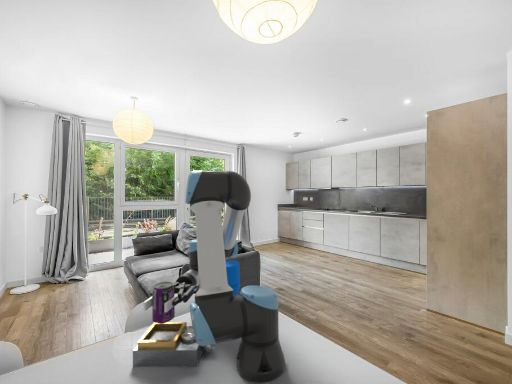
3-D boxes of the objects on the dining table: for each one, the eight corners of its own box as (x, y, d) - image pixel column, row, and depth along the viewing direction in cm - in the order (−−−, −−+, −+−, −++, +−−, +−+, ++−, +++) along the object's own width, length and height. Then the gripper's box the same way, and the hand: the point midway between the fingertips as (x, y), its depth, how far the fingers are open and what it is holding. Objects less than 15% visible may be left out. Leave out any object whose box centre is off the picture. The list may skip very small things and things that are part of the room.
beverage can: (171, 325, 79) (170, 288, 79) (149, 326, 79) (148, 289, 79) (177, 314, 86) (176, 280, 86) (156, 315, 86) (156, 281, 86)
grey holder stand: (217, 339, 89) (217, 320, 89) (209, 366, 75) (209, 343, 75) (152, 340, 89) (152, 321, 89) (132, 366, 75) (132, 344, 75)
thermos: (226, 315, 107) (226, 258, 108) (245, 322, 101) (244, 262, 101) (208, 325, 98) (208, 264, 99) (228, 334, 92) (227, 268, 93)
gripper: (210, 292, 98) (183, 321, 76) (166, 289, 102) (127, 316, 79) (210, 274, 98) (183, 297, 76) (166, 271, 102) (127, 293, 79)
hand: (155, 307), depth 77 cm, fingers closed on beverage can, 7 cm apart
